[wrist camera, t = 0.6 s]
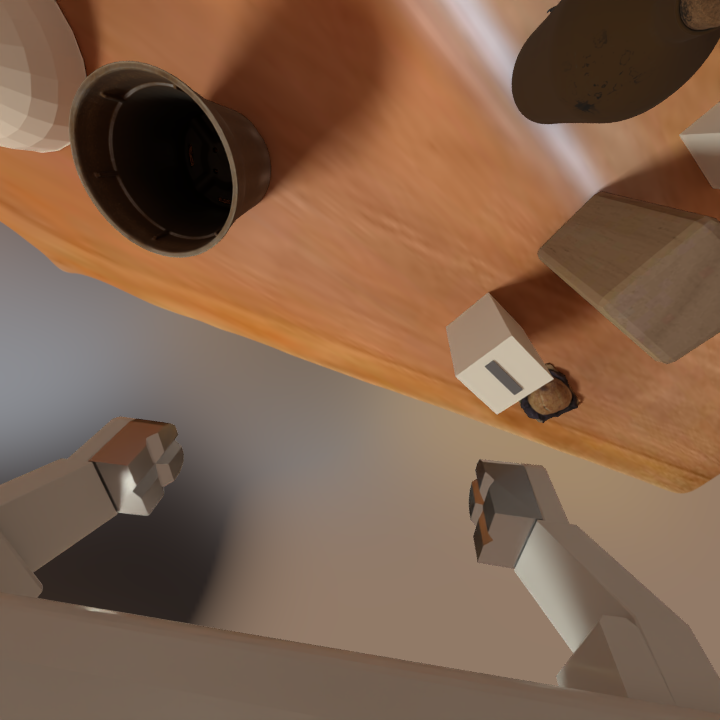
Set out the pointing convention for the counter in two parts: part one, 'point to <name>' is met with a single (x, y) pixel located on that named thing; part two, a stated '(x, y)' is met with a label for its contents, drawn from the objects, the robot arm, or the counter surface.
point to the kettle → (37, 75)
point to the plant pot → (164, 158)
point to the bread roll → (550, 398)
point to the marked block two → (706, 144)
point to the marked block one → (495, 355)
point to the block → (643, 270)
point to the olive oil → (611, 58)
